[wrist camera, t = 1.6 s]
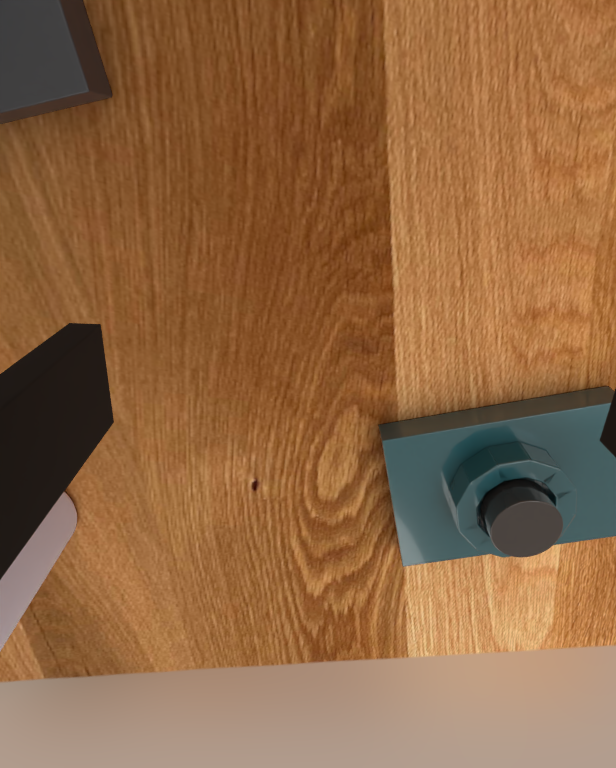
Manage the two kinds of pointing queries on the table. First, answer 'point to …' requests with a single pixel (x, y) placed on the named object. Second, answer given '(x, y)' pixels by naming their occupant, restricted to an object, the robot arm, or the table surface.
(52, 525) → the spray bottle
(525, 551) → the dark grey round knob
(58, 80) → the dial base
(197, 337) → the table surface
